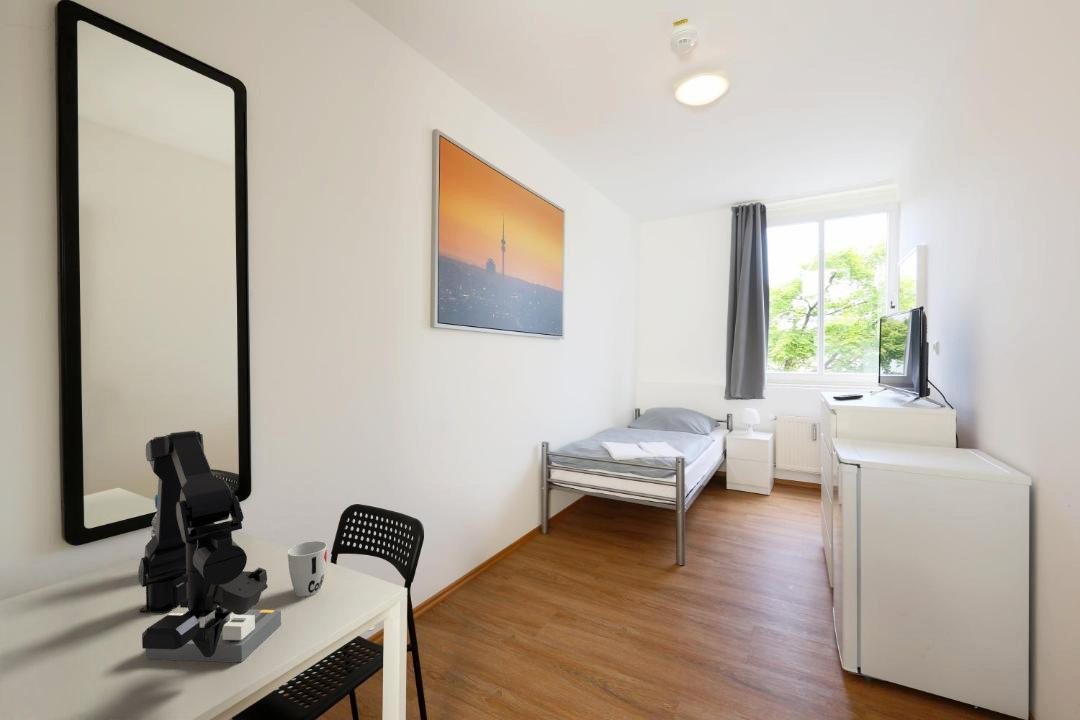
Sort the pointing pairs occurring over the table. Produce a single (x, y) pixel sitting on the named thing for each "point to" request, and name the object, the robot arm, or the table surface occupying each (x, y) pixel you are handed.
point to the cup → (307, 567)
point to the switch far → (238, 627)
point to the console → (226, 642)
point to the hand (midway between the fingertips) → (209, 655)
